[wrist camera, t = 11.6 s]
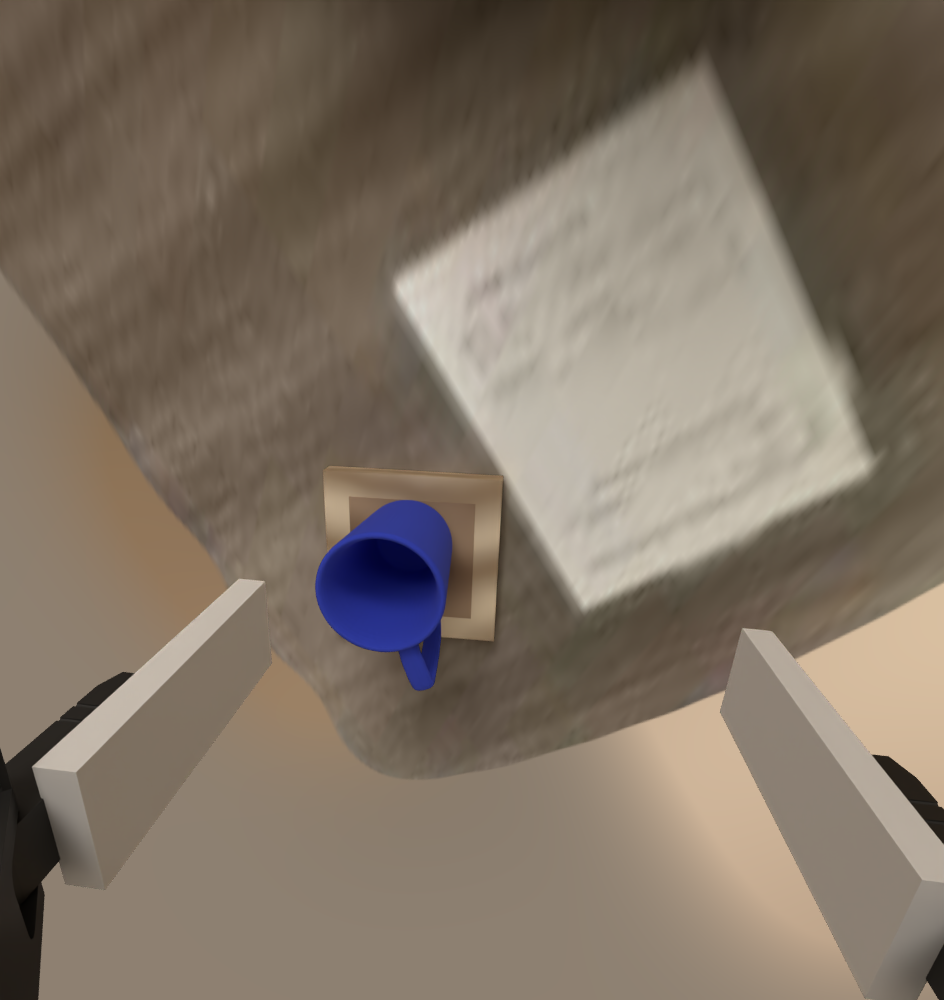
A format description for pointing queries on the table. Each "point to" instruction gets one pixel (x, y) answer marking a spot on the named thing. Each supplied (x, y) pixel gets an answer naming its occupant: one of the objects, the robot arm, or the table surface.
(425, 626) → the mug
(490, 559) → the trivet
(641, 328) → the table surface
